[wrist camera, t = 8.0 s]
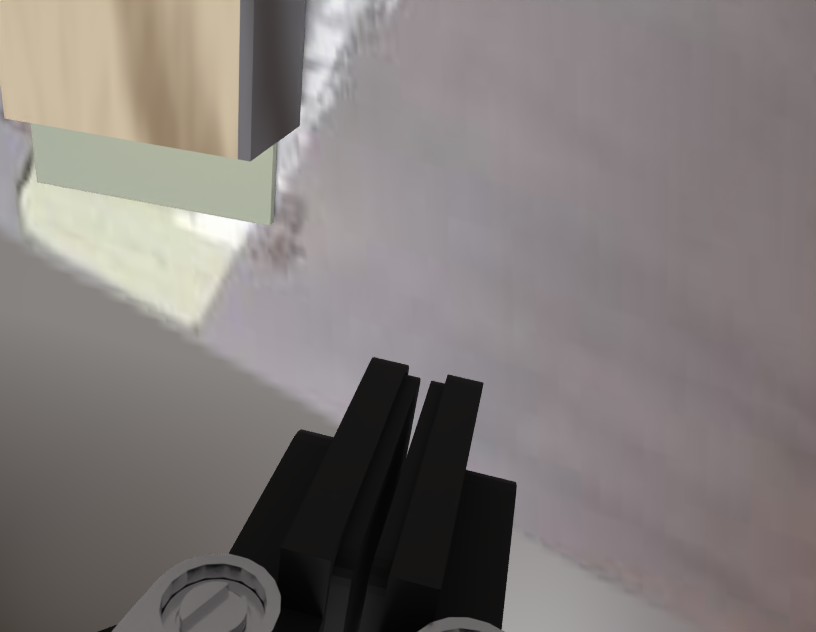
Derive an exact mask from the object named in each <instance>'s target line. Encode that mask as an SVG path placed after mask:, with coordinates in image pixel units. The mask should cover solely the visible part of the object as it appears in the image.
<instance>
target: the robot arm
mask: <svg viewBox="0 0 816 632" xmlns="http://www.w3.org/2000/svg"><path fill="white" fill-rule="evenodd" d="M408 372H409V365H405V364H401V363H397V362H392V361H388V360H384V359H379V358H375V357H373V358H372V359H371V361H370V363H369V365H368V367H367V369H366V372H365V374H364V376H363V378H362V380H361V382H360V384H359V386H358V388H357V390H356V392H355V394H354V397H353V399H352V401H351V403H350V405H349V407H348V409H347V411H346V413H345V415H344V417H343V419H342V421H341V424H340V426H339V428H338V430H337V432H336V434H335V436H334V437H330V436H326V435H322V434H318V433H314V432H310V431H306V430H300V431H298V432H297V434H296V435H295V436H294V438H293V440H292V442H291V443H290V445H289V447H288V449H287V451H286V452H285V454H284V456H283V458H282V459H281V461H280V463H279V465H278V466H277V468H276V470H275V472H274V474H273V476H272V477H271V479H270V481H269V483H268V484H267V486H266V488H265V490H264V492H263V493H262V495H261V497H260V499H259V500H258V502H257V504H256V506H255V508H254V509H253V511H252V513H251V515H250V516H249V518H248V520H247V522H246V524H245V525H244V527H243V529H242V531H241V533H240V534H239V536H238V538H237V540H236V541H235V543H234V545H233V547H232V549H231V550H230V552H229V554H207V555H202V556H197V557H193V558H190V559H187V560H185V561H183V562H181V563H179V564H177V565H175V566H173V567H172V568H170V569H169V570H168V571H167V572H166V573H164V574H163V575H162V576H161V577H160V578H159V579H158V580H157V581H156V582H155V583H154V584H153V585H152V586H151V588H150V589H149V590H148V591H147V592H146V593H145V594H144V595H143V597H142V598H141V599H140V600H139V601H138V602H137V603H136V604H135V606H134V607H133V608H132V609H131V610H130V611H129V612H128V613H127V615H126V616H125V617H124V618H123V619H122V620H121V622H120V623H119V624H118V625H115V626H112V627H109V628H107V629H104V630H101V631H99V632H504V631H502V630H501V629H502V620H503V611H504V610H503V609H504V601H505V591H506V582H507V572H508V564H509V554H510V545H511V536H512V526H513V517H514V508H515V498H516V487H517V485H516V482H513V481H509V480H505V479H501V478H497V477H493V476H489V475H485V474H480V473H476V472H472V471H468V470H466V466H467V461H468V456H469V451H470V446H471V442H472V437H473V432H474V427H475V422H476V417H477V412H478V407H479V403H480V398H481V393H482V388H483V383H482V382H478V381H474V380H469V379H465V378H461V377H457V376H452V375H447V379H446V382H445V384H444V383H440V382H435V381H431V383H430V386H429V389H428V393H427V396H426V399H425V402H424V405H423V408H422V411H421V414H420V417H419V420H418V423H417V427H416V430H415V433H414V436H413V439H412V442H411V445H410V448H409V451H408V445H409V440H410V435H411V429H412V424H413V418H414V413H415V408H416V402H417V397H418V392H419V386H420V378H418V377H414V376H410V375H408ZM407 451H408V454H407ZM406 456H407V457H406Z"/></svg>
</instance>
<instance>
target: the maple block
mask: <svg viewBox="0 0 816 632" xmlns="http://www.w3.org/2000/svg"><path fill="white" fill-rule="evenodd" d="M305 13H306V0H0V84H1V92H2V100H3V108H4V115H5V119H11V120H17V121H22V122H28V123H34V124H40V125H45V126H51V127H57V128H62V129H68V130H74V131H79V132H85V133H91V134H96V135H102V136H108V137H113V138H119V139H125V140H130V141H136V142H142V143H148V144H153V145H159V146H165V147H170V148H176V149H182V150H187V151H193V152H199V153H204V154H210V155H216V156H221V157H227V158H233V159H239V160H244V161H250V162H251V161H252V160H253V159H255V158H256V157H257V156H259V155H260V154H262V153H263V152H264V151H266V150H267V149H268V148H270V147H271V146H273V145H274V144H275V143H277V142H278V141H279V140H281V139H282V138H284V137H285V136H286V135H288V134H289V133H290V132H292V131H293V130H295V129H296V128H297V127H299V126H300V108H301V89H302V70H303V51H304V32H305Z"/></svg>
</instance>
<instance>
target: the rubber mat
mask: <svg viewBox="0 0 816 632" xmlns="http://www.w3.org/2000/svg"><path fill="white" fill-rule="evenodd" d="M31 131H32V140H33V149H34V158H35V167H36V176H37V182H38V183H44V184H49V185H54V186H60V187H65V188H71V189H76V190H81V191H87V192H92V193H97V194H103V195H108V196H113V197H119V198H124V199H129V200H135V201H140V202H145V203H151V204H156V205H161V206H167V207H172V208H177V209H183V210H188V211H193V212H199V213H204V214H209V215H215V216H220V217H225V218H231V219H236V220H241V221H247V222H252V223H257V224H263V225H268V226H270V225H271V224H272V223H273V222H274V200H275V176H276V152H277V143H275V144H274V145H273V146H271V147H270V148H268V149H267V150H266V151H264V152H263V153H262V154H260V155H259V156H257V157H256V158H255V159H253V160H252V161H251V162H250V161H244V160H239V159H233V158H227V157H221V156H216V155H210V154H204V153H199V152H193V151H187V150H182V149H176V148H170V147H165V146H159V145H153V144H148V143H142V142H136V141H130V140H125V139H119V138H113V137H108V136H102V135H96V134H91V133H85V132H79V131H74V130H68V129H62V128H57V127H51V126H45V125H40V124H34V123H31Z"/></svg>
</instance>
